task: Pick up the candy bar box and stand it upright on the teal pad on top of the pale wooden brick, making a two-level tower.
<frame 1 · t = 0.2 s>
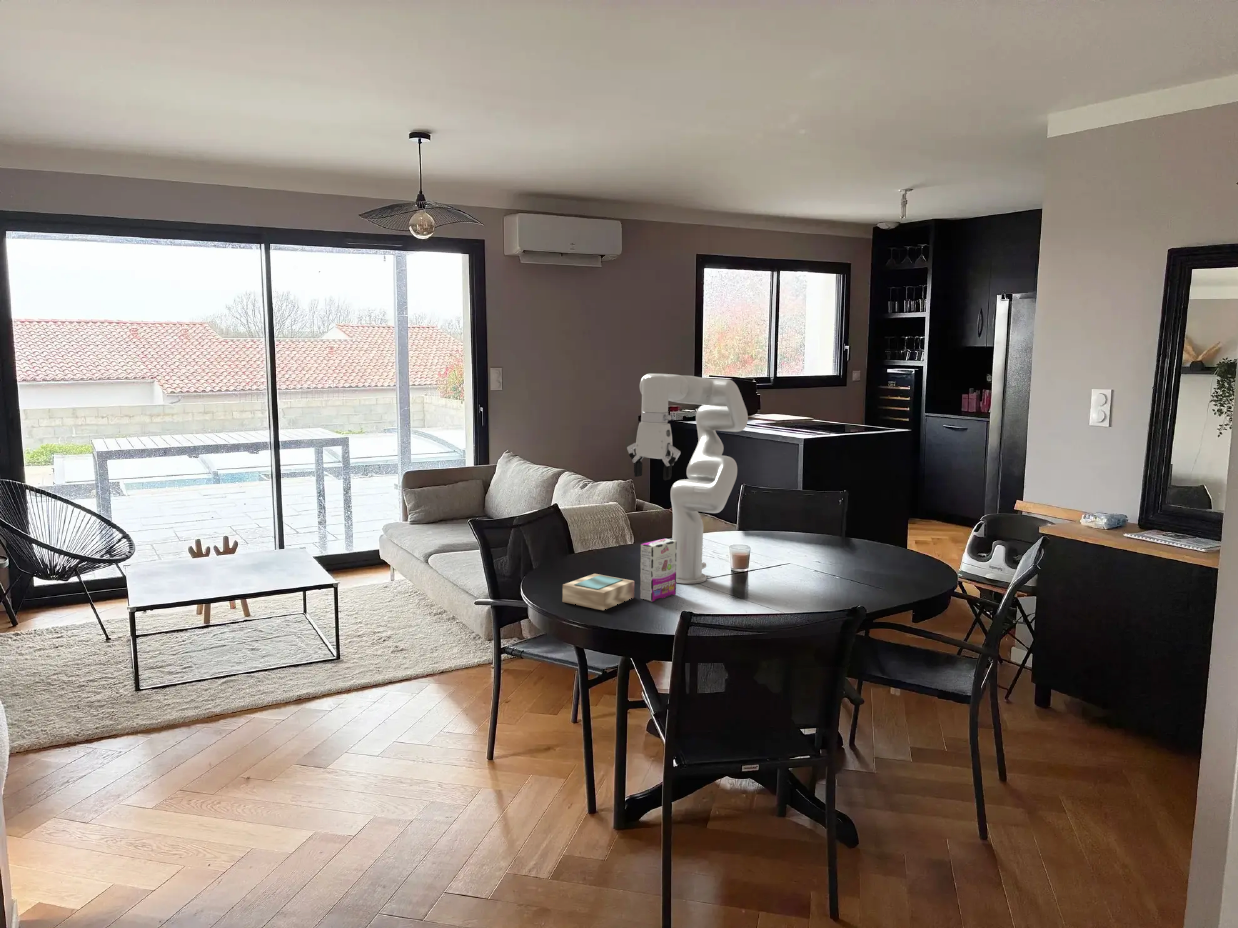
hand: (652, 477, 265), 35 cm above the table, tool pointing down, fingers open, 9 cm apart
candy bar box: (657, 597, 269), on the table
wooden brick: (598, 599, 265), on the table
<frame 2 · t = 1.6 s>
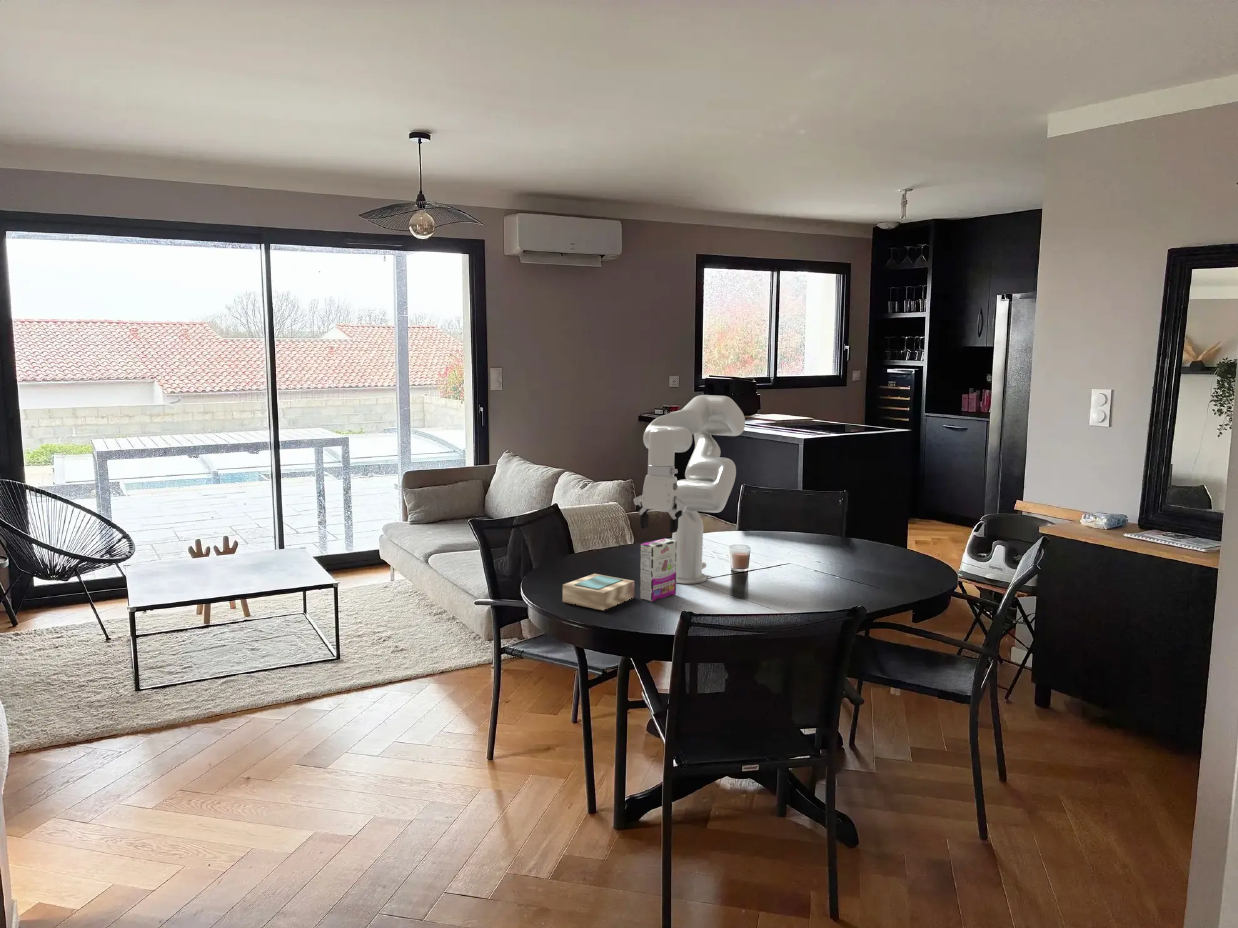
hand: (658, 530, 266), 20 cm above the table, tool pointing down, fingers open, 9 cm apart
nothing on the table moved.
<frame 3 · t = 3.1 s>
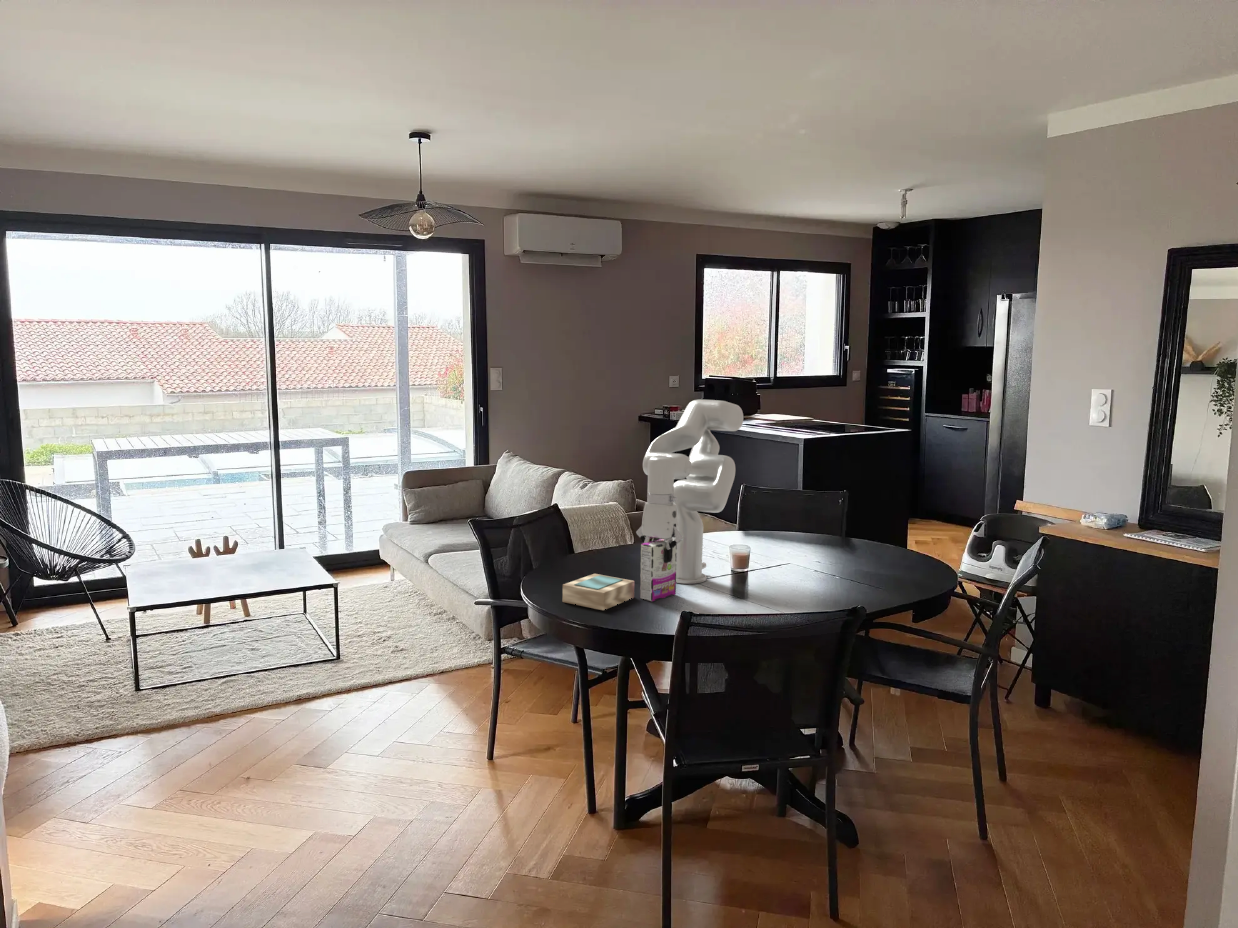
hand: (658, 559, 268), 11 cm above the table, tool pointing down, fingers closed on candy bar box, 5 cm apart
candy bar box: (657, 597, 269), on the table, touching gripper
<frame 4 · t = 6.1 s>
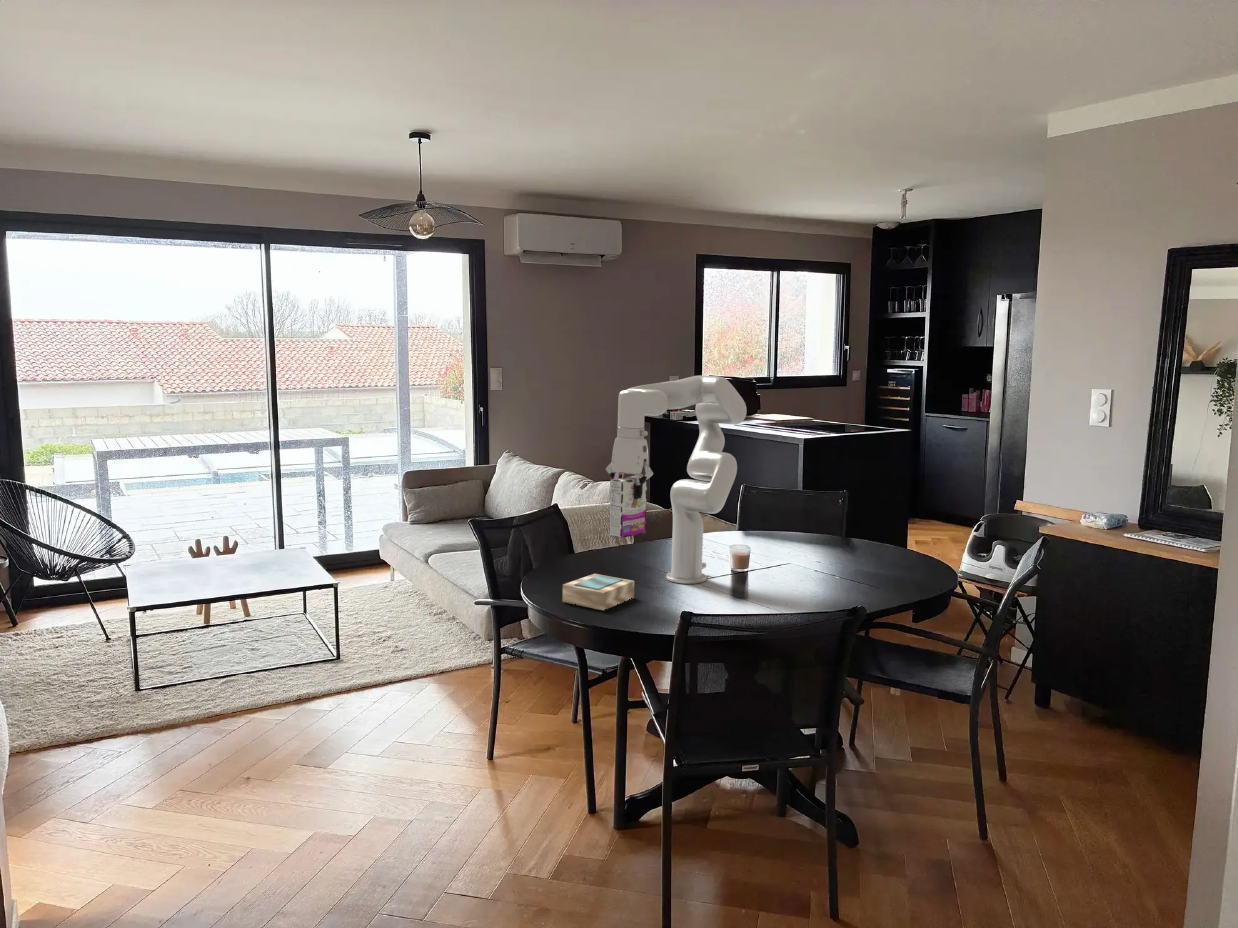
hand: (628, 496, 263), 30 cm above the table, tool pointing down, fingers closed on candy bar box, 5 cm apart
candy bar box: (626, 535, 264), point 19 cm above the table, touching gripper
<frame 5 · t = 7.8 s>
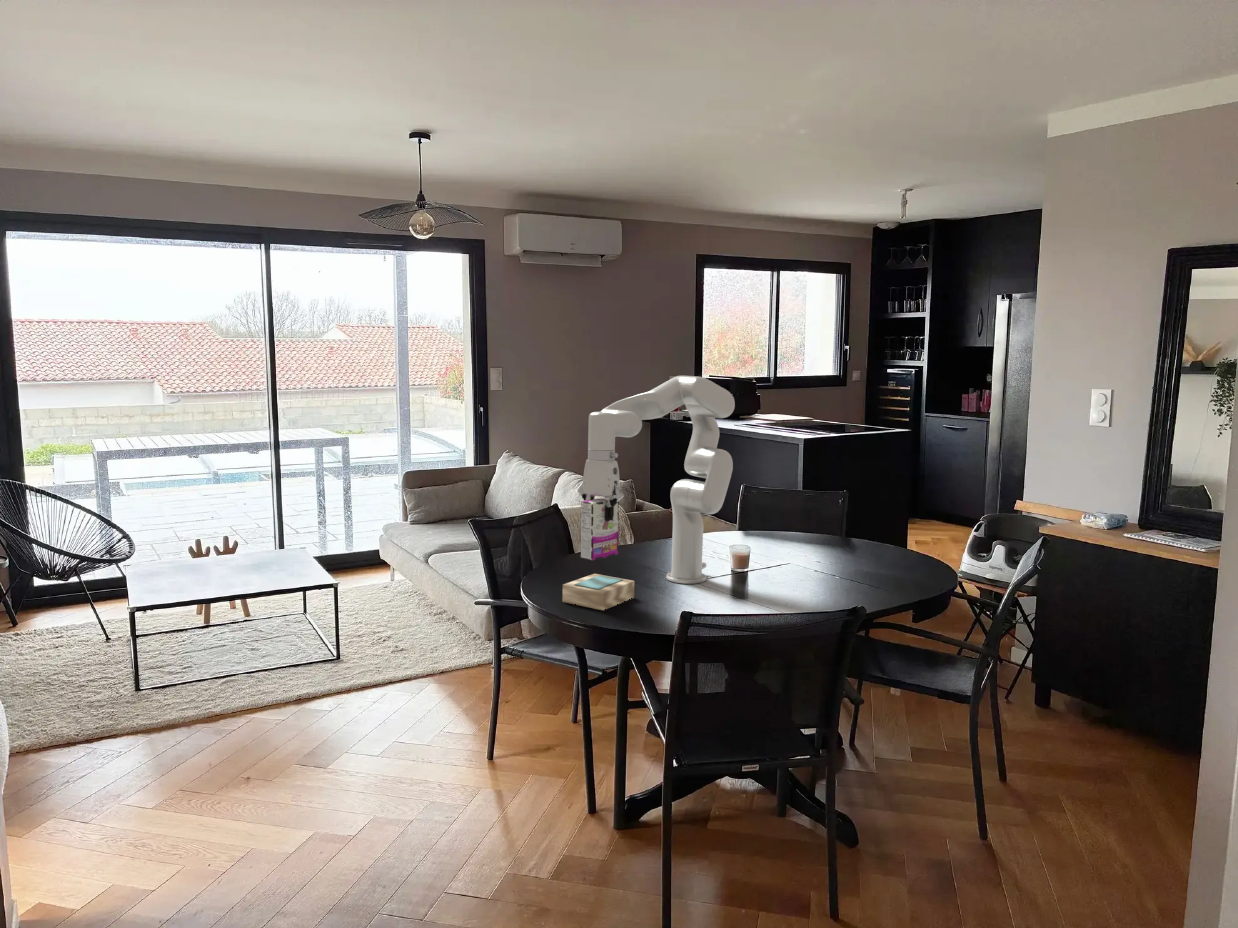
hand: (599, 518, 262), 24 cm above the table, tool pointing down, fingers closed on candy bar box, 5 cm apart
candy bar box: (598, 556, 263), point 13 cm above the table, touching gripper
when the fingers open (17 cm above the table, at t = 9.3 s): candy bar box stays where it is, resting on wooden brick.
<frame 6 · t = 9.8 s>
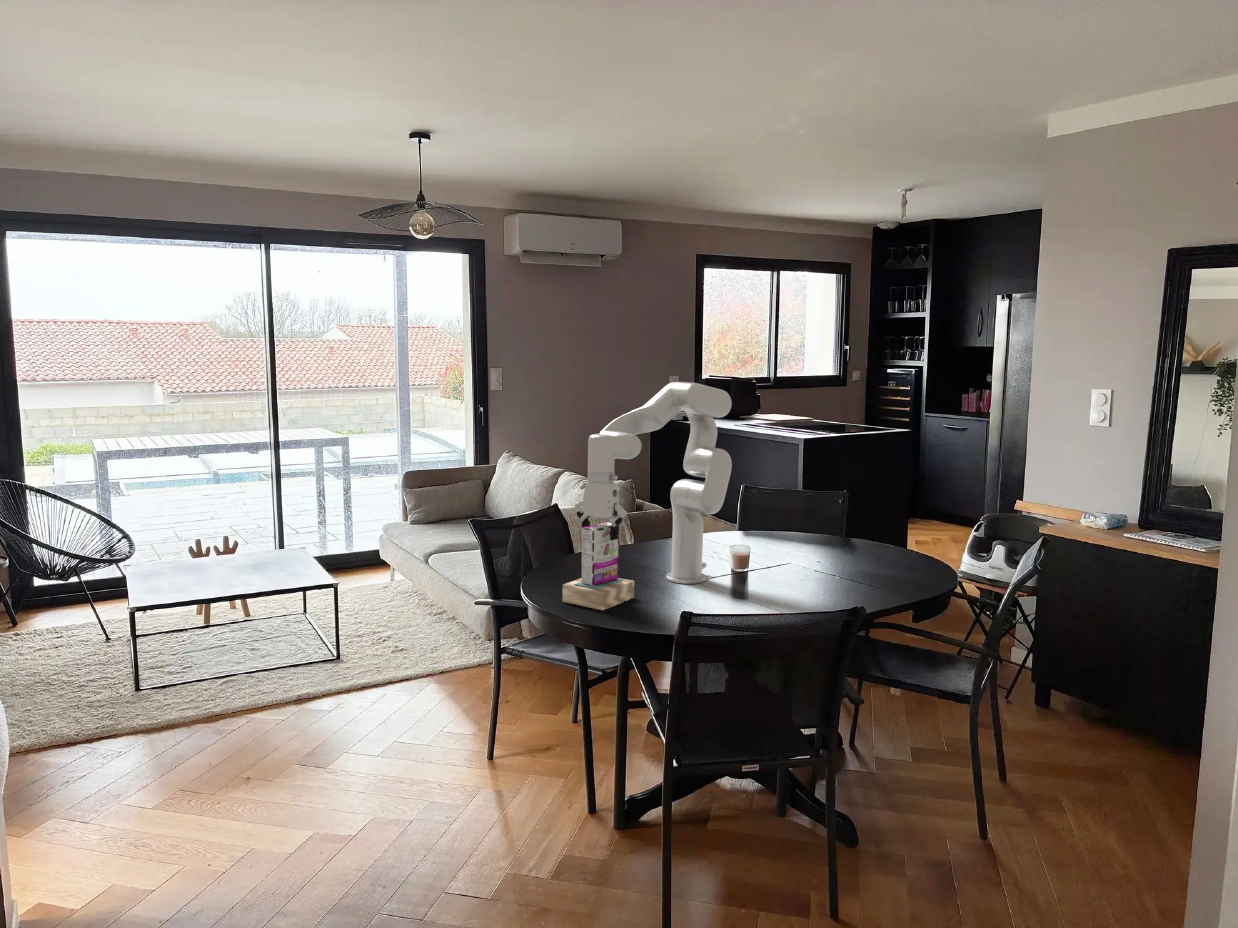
hand: (599, 537, 262), 18 cm above the table, tool pointing down, fingers open, 9 cm apart
candy bar box: (599, 582, 264), point 5 cm above the table, touching wooden brick
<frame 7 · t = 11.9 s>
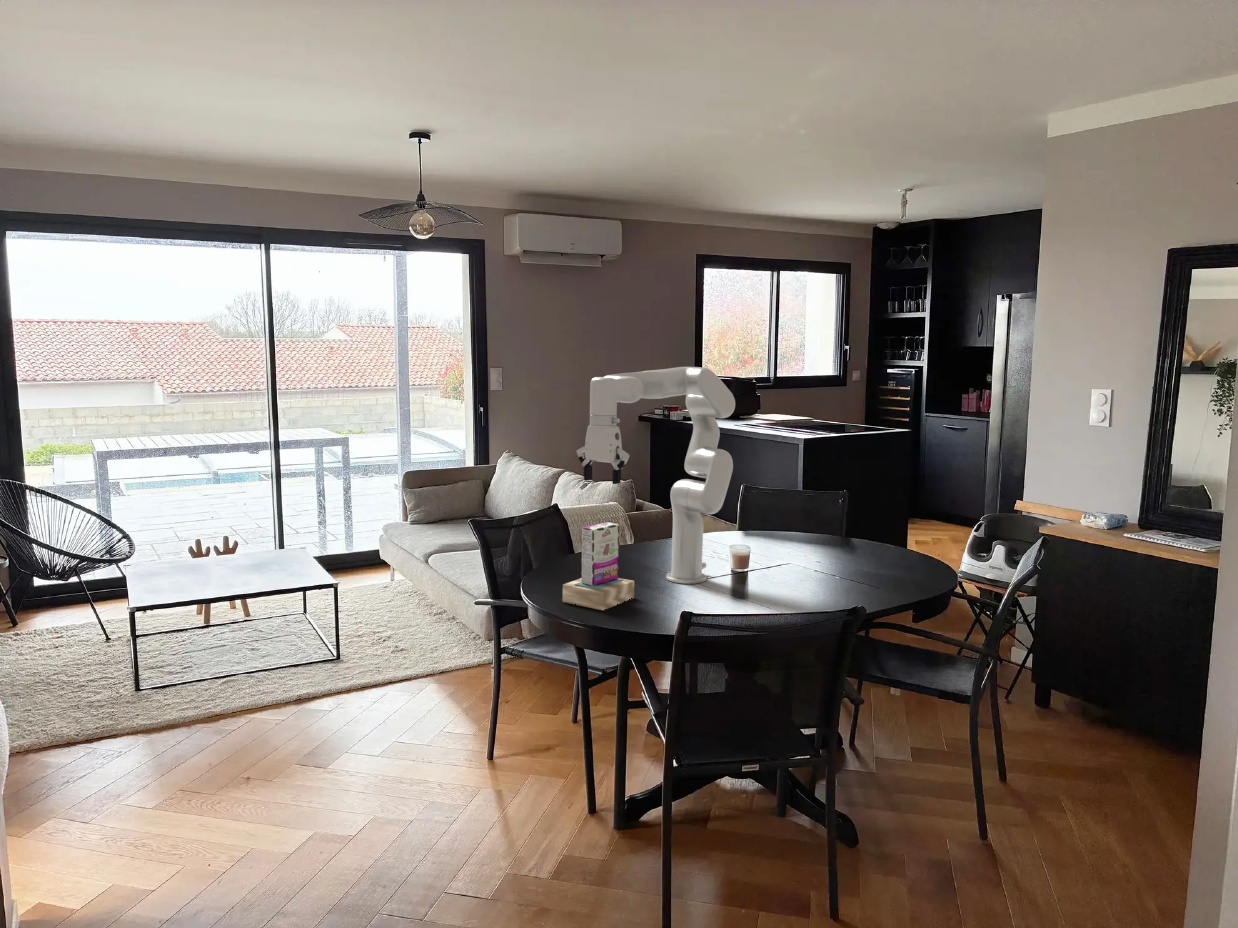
hand: (602, 481, 260), 34 cm above the table, tool pointing down, fingers open, 9 cm apart
nothing on the table moved.
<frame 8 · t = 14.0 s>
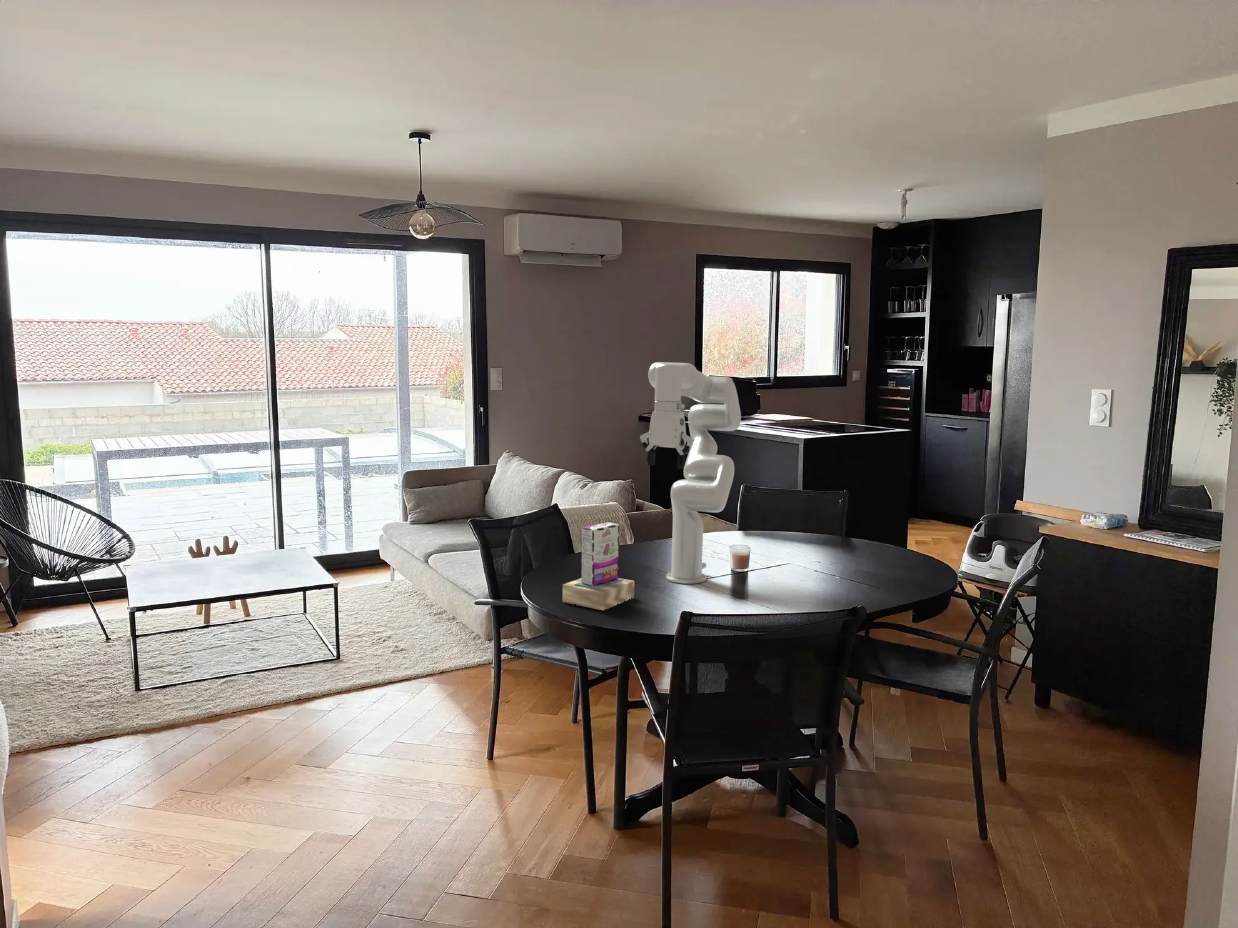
hand: (665, 466, 264), 38 cm above the table, tool pointing down, fingers open, 9 cm apart
nothing on the table moved.
at the end: candy bar box inside the target area on the wooden brick (0.2 cm from its centre), point 5.1 cm above the wooden brick's base; candy bar box tilted 0°; the gripper is holding nothing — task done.
